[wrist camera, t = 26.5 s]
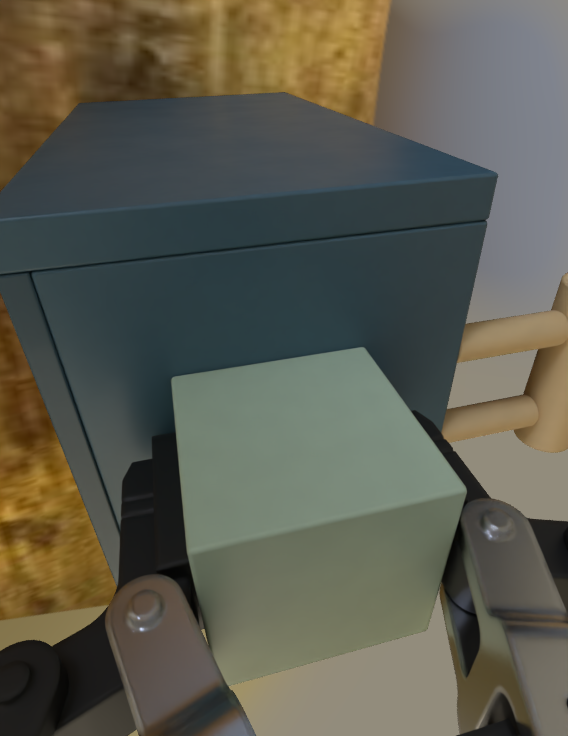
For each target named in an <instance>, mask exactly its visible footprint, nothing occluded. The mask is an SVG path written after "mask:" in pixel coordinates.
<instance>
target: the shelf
mask: <svg viewBox="0 0 568 736" xmlns="http://www.w3.org/2000/svg"><path fill="white" fill-rule="evenodd" d="M497 178H498V174H497V173H496V172H493V171H491V170H488V169H485V168H483V167H480V166H478V165H475V164H472V163H470V162H467V161H464V160H462V159H459V158H456V157H453V156H451V155H449V154H446V153H443V152H441V151H438V150H435V149H433V148H430V147H428V146H425V145H422V144H419V143H417V142H414V141H412V140H409V139H406V138H403V137H401V136H399V135H396V134H393V133H390V132H388V131H385V130H382V129H380V128H377V127H375V126H372V125H370V124H367V123H364V122H362V121H359V120H356V119H354V118H351V117H348V116H346V115H343V114H341V113H338V112H335V111H333V110H330V109H327V108H325V107H322V106H319V105H317V104H314V103H312V102H309V101H306V100H304V99H301V98H298V97H296V96H293V95H290V94H288V93H285V92H281V93H262V94H243V95H224V96H205V97H186V98H167V99H148V100H129V101H110V102H91V103H79V104H78V105H77V106H76V107H75V108H74V110H73V111H72V112H71V113H70V114H69V115H68V116H67V117H66V119H65V120H64V121H63V122H62V123H61V124H60V125H59V126H58V128H57V129H56V130H55V131H54V132H53V133H52V134H51V135H50V137H49V138H48V139H47V140H46V141H45V142H44V143H43V144H42V146H41V147H40V148H39V149H38V150H37V151H36V152H35V154H34V155H33V156H32V157H31V158H30V159H29V160H28V161H27V163H26V164H25V165H24V166H23V167H22V168H21V169H20V170H19V172H18V173H17V174H16V175H15V176H14V177H13V178H12V179H11V181H10V182H9V183H8V184H7V185H6V186H5V187H4V188H3V190H2V191H1V192H0V293H1V295H2V298H3V300H4V303H5V305H6V308H7V310H8V313H9V315H10V318H11V320H12V323H13V326H14V328H15V331H16V333H17V336H18V338H19V341H20V343H21V346H22V348H23V351H24V353H25V356H26V358H27V361H28V363H29V366H30V368H31V371H32V373H33V376H34V379H35V381H36V384H37V386H38V389H39V391H40V394H41V396H42V399H43V401H44V404H45V406H46V409H47V411H48V414H49V416H50V419H51V421H52V424H53V426H54V429H55V432H56V434H57V437H58V439H59V442H60V444H61V447H62V449H63V452H64V454H65V457H66V459H67V462H68V464H69V467H70V469H71V472H72V474H73V477H74V479H75V482H76V484H77V487H78V490H79V492H80V495H81V497H82V500H83V502H84V505H85V507H86V510H87V512H88V515H89V517H90V520H91V522H92V525H93V527H94V530H95V532H96V535H97V537H98V540H99V543H100V545H101V548H102V550H103V553H104V555H105V558H106V560H107V563H108V565H109V568H110V570H111V573H112V575H113V578H114V580H115V583H116V585H117V586H118V577H119V551H120V524H121V504H122V500H121V498H122V480H123V478H124V476H125V475H126V473H127V471H128V469H129V467H130V465H131V463H132V462H137V461H142V460H147V459H152V436H157V435H162V434H168V433H173V432H176V429H175V418H174V408H173V397H172V386H171V380H172V378H173V377H175V376H181V375H188V374H194V373H200V372H207V371H213V370H219V369H226V368H232V367H239V366H245V365H251V364H258V363H264V362H270V361H277V360H283V359H289V358H296V357H302V356H308V355H315V354H321V353H327V352H334V351H340V350H346V349H353V348H359V347H364V348H365V349H366V350H367V351H368V353H369V354H370V356H371V357H372V358H373V360H374V361H375V362H376V364H377V365H378V367H379V368H380V369H381V371H382V372H383V373H384V375H385V376H386V378H387V379H388V380H389V382H390V383H391V384H392V386H393V387H394V389H395V390H396V391H397V393H398V394H399V396H400V397H401V398H402V400H403V401H404V402H405V404H406V405H407V407H408V408H409V409H410V411H413V410H416V411H417V412H419V413H420V414H422V415H423V416H425V417H426V418H428V419H429V420H431V421H432V422H433V423H434V424H435V425H436V427H437V428H438V429H439V431H440V432H441V433H442V435H443V436H444V439H446V440H447V441H448V443H450V442H455V441H460V440H465V439H470V438H475V437H479V436H485V435H489V434H494V433H499V432H504V431H509V430H514V432H515V434H516V436H517V437H518V438H519V439H520V440H521V441H522V442H523V443H525V444H526V445H528V446H529V447H532V448H534V449H536V450H540V451H544V452H550V453H554V452H555V453H556V452H562V451H565V450H566V449H568V273H566V274H565V275H564V276H563V277H562V279H561V282H560V285H559V288H558V291H557V294H556V297H555V300H554V303H553V306H552V309H551V311H545V312H538V313H532V314H526V315H519V316H513V317H506V318H500V319H493V320H487V321H481V322H474V323H468V324H465V323H466V319H467V314H468V309H469V305H470V300H471V296H472V291H473V287H474V282H475V278H476V273H477V269H478V264H479V259H480V255H481V250H482V246H483V241H484V237H485V232H486V228H487V221H486V219H488V218H489V214H490V210H491V205H492V200H493V196H494V191H495V187H496V182H497ZM534 349H538V351H537V354H536V357H535V360H534V364H533V367H532V370H531V373H530V376H529V379H528V382H527V385H526V388H525V391H524V394H523V395H519V396H514V397H509V398H503V399H498V400H493V401H488V402H482V403H477V404H472V405H467V406H462V407H456V408H451V409H447V405H448V401H449V396H450V391H451V387H452V382H453V377H454V373H455V368H456V364H457V363H459V362H465V361H471V360H477V359H483V358H488V357H494V356H500V355H506V354H511V353H518V352H523V351H529V350H534Z"/></svg>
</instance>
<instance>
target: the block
mask: <svg viewBox="0 0 568 736" xmlns="http://www.w3.org/2000/svg"><path fill="white" fill-rule="evenodd" d="M171 386H172V397H173V408H174V418H175V429H176V440H177V451H178V462H179V472H180V483H181V494H182V505H183V516H184V526H185V537H186V548H187V555H188V559H189V563H190V568H191V572H192V576H193V581H194V585H195V589H196V594H197V598H198V602H199V607H200V611H201V615H202V620H203V624H204V628H205V632H206V637H207V641H208V646H209V648H210V650H211V652H212V654H213V656H214V659H215V661H216V663H217V665H218V667H219V669H220V671H221V673H222V675H223V677H224V680H225V681H226V683H227V685H228V686H231V685H235V684H238V683H242V682H245V681H249V680H253V679H256V678H260V677H263V676H267V675H270V674H274V673H278V672H281V671H285V670H288V669H292V668H295V667H299V666H303V665H306V664H310V663H313V662H317V661H320V660H324V659H327V658H331V657H334V656H338V655H342V654H345V653H348V652H352V651H356V650H359V649H363V648H366V647H370V646H374V645H377V644H381V643H384V642H388V641H392V640H395V639H399V638H402V637H406V636H409V635H413V634H416V633H420V632H423V631H426V630H427V629H428V626H429V622H430V619H431V615H432V612H433V608H434V605H435V601H436V598H437V594H438V591H439V588H440V584H441V581H442V577H443V574H444V570H445V567H446V563H447V560H448V556H449V553H450V549H451V546H452V542H453V539H454V535H455V532H456V528H457V525H458V522H459V518H460V515H461V511H462V508H463V504H464V501H465V497H466V494H467V489H466V486H465V485H464V484H463V482H462V481H461V480H460V478H459V477H458V475H457V474H456V473H455V471H454V470H453V469H452V467H451V466H450V464H449V463H448V462H447V460H446V459H445V458H444V456H443V455H442V453H441V452H440V451H439V449H438V448H437V447H436V445H435V444H434V442H433V441H432V440H431V438H430V437H429V435H428V434H427V433H426V431H425V430H424V429H423V427H422V426H421V424H420V423H419V422H418V420H417V419H416V418H415V416H414V415H413V413H412V412H411V411H410V409H409V408H408V407H407V405H406V404H405V402H404V401H403V400H402V398H401V397H400V396H399V394H398V393H397V391H396V390H395V389H394V387H393V386H392V384H391V383H390V382H389V380H388V379H387V378H386V376H385V375H384V373H383V372H382V371H381V369H380V368H379V367H378V365H377V364H376V362H375V361H374V360H373V358H372V357H371V356H370V354H369V353H368V351H367V350H366V349H365V348H364V347H359V348H353V349H346V350H340V351H334V352H327V353H321V354H315V355H308V356H302V357H296V358H289V359H283V360H277V361H270V362H264V363H258V364H251V365H245V366H239V367H232V368H226V369H219V370H213V371H207V372H200V373H194V374H188V375H181V376H175V377H173V378H172V380H171Z"/></svg>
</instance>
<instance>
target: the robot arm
mask: <svg viewBox="0 0 568 736" xmlns="http://www.w3.org/2000/svg"><path fill="white" fill-rule="evenodd" d="M411 412H412V413H413V415H414V416H415V418H416V419H417V420H418V422H419V423H420V424H421V426H422V427H423V429H424V430H425V431H426V433H427V434H428V435H429V437H430V438H431V440H432V441H433V442H434V444H435V445H436V447H437V448H438V449H439V451H440V452H441V453H442V455H443V456H444V458H445V459H446V460H447V462H448V463H449V464H450V466H451V467H452V469H453V470H454V471H455V473H456V474H457V475H458V477H459V478H460V480H461V481H462V482H463V484H464V485H465V486H466V489H467V494H466V497H465V501H464V504H463V508H462V511H461V515H460V518H459V522H458V525H457V528H456V532H455V535H454V539H453V542H452V546H451V549H450V553H449V556H448V560H447V563H446V567H445V570H444V574H443V577H442V581H441V586H440V600H441V604H442V610H443V615H444V620H445V625H446V630H447V635H448V640H449V645H450V650H451V655H452V660H453V665H454V670H455V674H456V680H457V690H458V697H457V717H458V726H459V733H460V735H457V736H568V522H567V521H553V520H539V519H530V518H526V517H525V516H524V515H523V514H522V513H521V512H520V511H519V510H517V509H516V508H514V507H513V506H511V505H509V504H507V503H505V502H503V501H500V500H496V499H491V498H490V497H489V495H488V494H487V492H486V491H485V490H484V489H483V487H482V486H481V485H480V483H479V482H478V481H477V479H476V478H475V477H474V475H473V474H472V473H471V472H470V470H469V469H468V468H467V466H466V465H465V464H464V462H463V461H462V460H461V458H460V457H459V456H458V454H457V453H456V452H455V451H453V448H452V447H451V445H450V444H449V443H448V441H447V440H446V439H444V436H443V435H442V433H441V432H440V431H439V429H438V428H437V427H436V425H435V424H434V423H433V422H432V421H431V420H429V419H428V418H426V417H425V416H423V415H422V414H420V413H419V412H417V411H416V410H413V411H411ZM121 500H122V504H121V524H120V551H119V577H118V586H117V589H116V592H115V595H114V597H113V599H112V600H111V602H110V604H109V606H108V607H107V608H106V610H105V611H104V612H103V613H102V614H101V615H100V616H99V617H98V618H97V619H96V620H95V621H93V622H92V623H91V624H90V625H88V626H86V627H85V628H83V629H82V630H80V631H78V632H76V633H75V634H73V635H71V636H70V637H68V638H66V639H64V640H62V641H60V642H59V643H57V644H55V645H53V646H52V647H51V646H50V645H49V644H47V643H45V642H42V641H37V640H26V641H22V642H18V643H15V644H13V645H10V646H9V647H6V648H5V649H3V650H1V651H0V736H128V735H129V734H131V733H132V732H134V731H135V730H137V731H138V735H139V736H256V734H255V732H254V730H253V728H252V726H251V724H250V722H249V720H248V718H247V716H246V713H245V711H244V710H243V707H242V706H241V704H240V702H239V700H238V698H237V697H236V695H235V693H234V692H233V691H232V690H230V689H229V687H228V685H227V683H226V681H225V680H224V677H223V675H222V673H221V671H220V669H219V667H218V665H217V663H216V661H215V659H214V656H213V654H212V652H211V650H210V648H209V646H208V644H207V642H206V640H205V637H204V635H203V633H202V631H201V630H202V629H205V628H204V624H203V620H202V615H201V611H200V607H199V602H198V598H197V594H196V589H195V585H194V581H193V576H192V572H191V568H190V563H189V559H188V555H187V548H186V537H185V526H184V516H183V505H182V494H181V483H180V472H179V462H178V451H177V440H176V432H173V433H168V434H162V435H157V436H152V459H147V460H142V461H137V462H132V463H131V465H130V467H129V469H128V471H127V473H126V475H125V476H124V478H123V480H122V498H121Z"/></svg>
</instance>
